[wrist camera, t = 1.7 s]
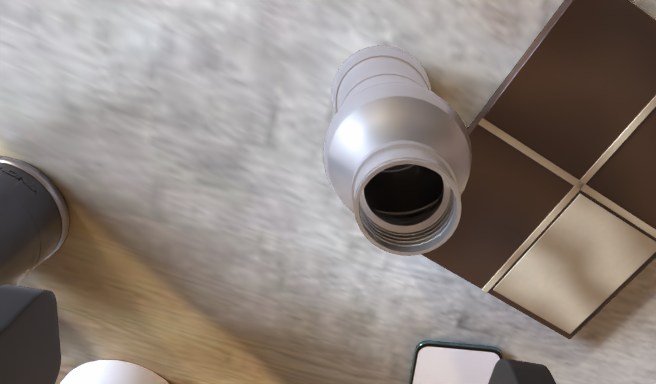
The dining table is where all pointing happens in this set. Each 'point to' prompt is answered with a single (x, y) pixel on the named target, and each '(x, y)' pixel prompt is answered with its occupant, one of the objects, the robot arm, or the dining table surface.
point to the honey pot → (112, 374)
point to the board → (564, 169)
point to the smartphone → (453, 363)
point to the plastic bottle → (396, 152)
